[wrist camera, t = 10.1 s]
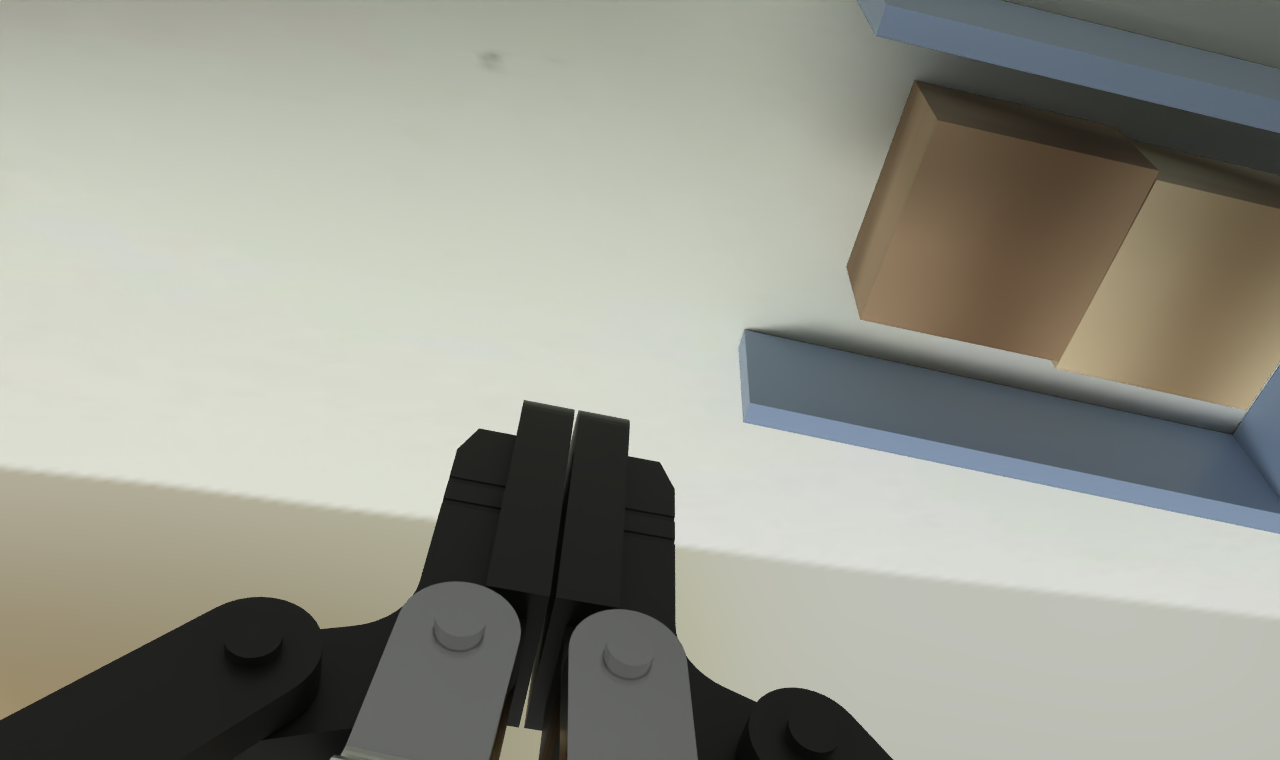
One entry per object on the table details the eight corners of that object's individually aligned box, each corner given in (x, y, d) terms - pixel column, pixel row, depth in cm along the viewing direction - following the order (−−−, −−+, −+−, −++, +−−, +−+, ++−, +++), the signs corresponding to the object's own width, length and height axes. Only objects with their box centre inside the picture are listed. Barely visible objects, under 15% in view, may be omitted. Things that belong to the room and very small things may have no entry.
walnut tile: (845, 262, 27) (860, 319, 24) (912, 77, 24) (937, 119, 22) (1025, 301, 27) (1058, 361, 25) (1112, 123, 24) (1159, 170, 22)
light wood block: (1023, 307, 27) (1055, 368, 25) (1110, 131, 25) (1156, 179, 22) (1197, 346, 28) (1246, 410, 25) (1301, 178, 25) (1369, 230, 22)
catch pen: (738, 347, 28) (743, 422, 25) (862, -35, 22) (886, 4, 20) (1240, 455, 29) (1301, 538, 26) (1476, 117, 24) (1585, 175, 21)
